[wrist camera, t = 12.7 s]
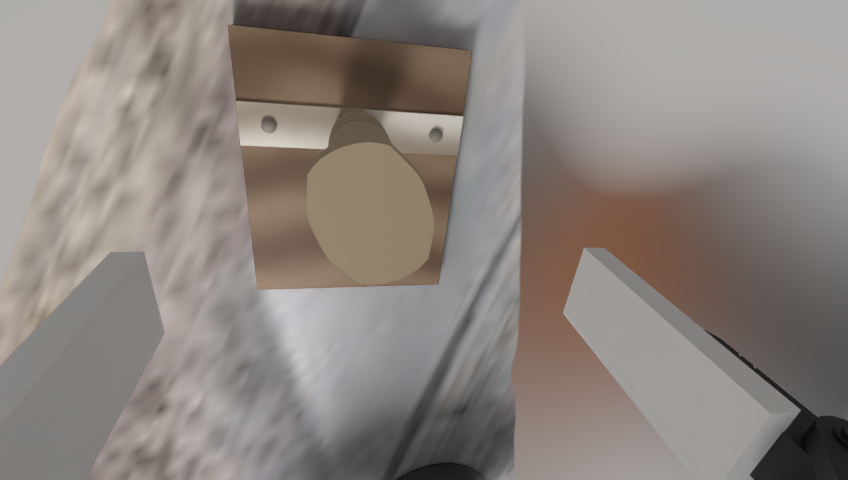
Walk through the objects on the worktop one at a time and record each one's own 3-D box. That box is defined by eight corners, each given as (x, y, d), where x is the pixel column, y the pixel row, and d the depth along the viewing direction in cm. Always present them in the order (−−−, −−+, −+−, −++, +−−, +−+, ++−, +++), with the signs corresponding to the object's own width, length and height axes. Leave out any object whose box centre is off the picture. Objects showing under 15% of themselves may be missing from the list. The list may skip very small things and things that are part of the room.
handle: (341, 179, 31) (346, 297, 18) (306, 96, 27) (280, 168, 14) (401, 159, 31) (448, 261, 18) (372, 73, 27) (406, 124, 15)
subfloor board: (435, 275, 39) (439, 286, 37) (260, 279, 35) (256, 292, 34) (466, 49, 30) (473, 51, 28) (232, 24, 26) (226, 24, 24)
